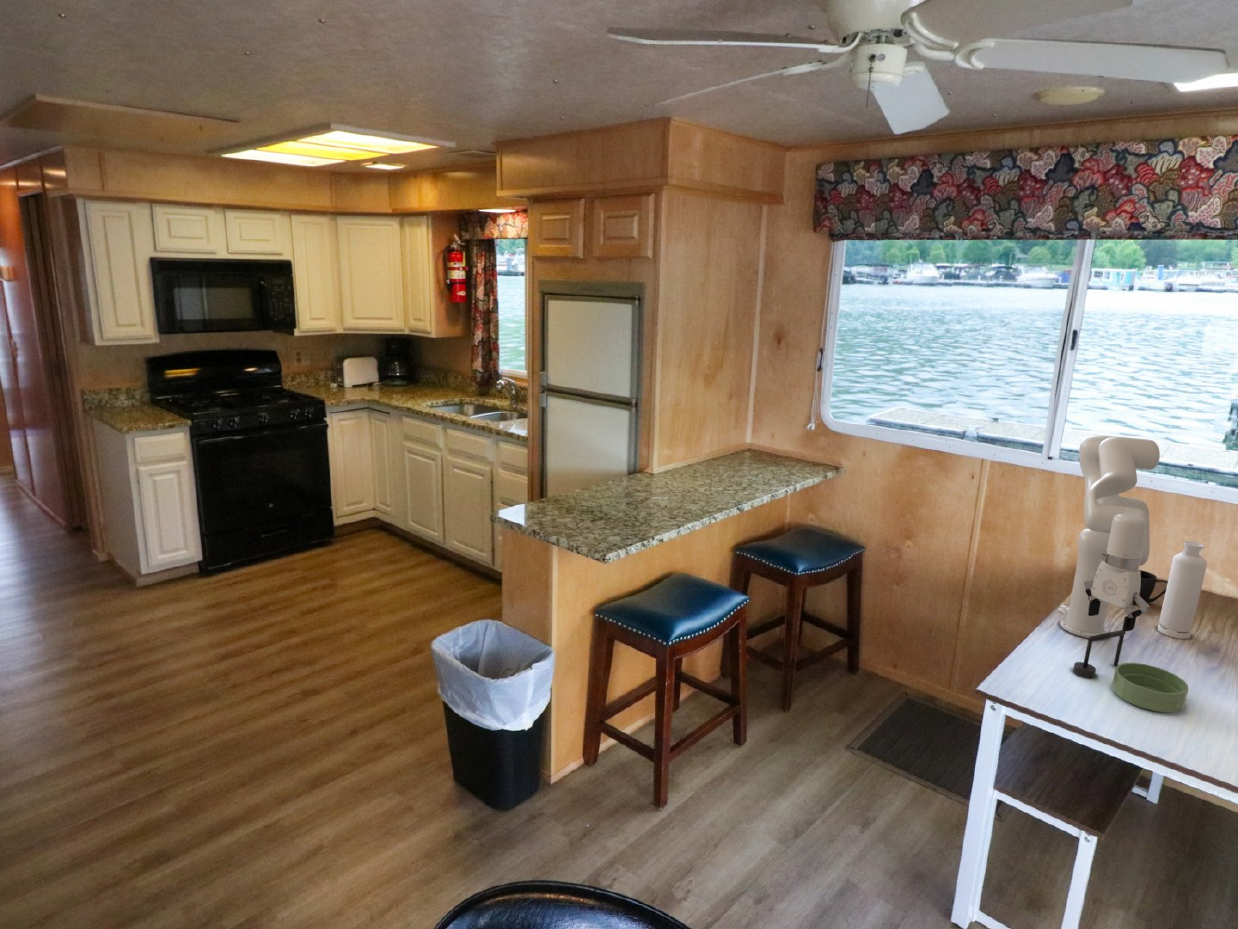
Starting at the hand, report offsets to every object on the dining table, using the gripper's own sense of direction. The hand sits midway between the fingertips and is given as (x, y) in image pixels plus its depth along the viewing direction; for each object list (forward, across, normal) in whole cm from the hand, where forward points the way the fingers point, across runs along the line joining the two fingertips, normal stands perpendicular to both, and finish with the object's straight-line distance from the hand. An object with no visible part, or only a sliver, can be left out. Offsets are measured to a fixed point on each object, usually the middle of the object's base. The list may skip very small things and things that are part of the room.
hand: (1109, 622), depth 205 cm
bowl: (+14, +14, -1) cm, 20 cm away
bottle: (+14, -10, +44) cm, 47 cm away
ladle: (+14, -1, 0) cm, 14 cm away
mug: (+13, -28, +56) cm, 63 cm away
